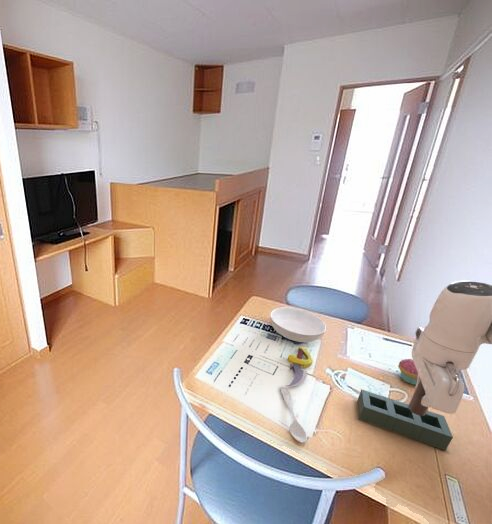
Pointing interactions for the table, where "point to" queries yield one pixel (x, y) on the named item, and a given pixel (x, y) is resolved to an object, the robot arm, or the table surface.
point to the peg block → (403, 420)
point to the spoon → (294, 420)
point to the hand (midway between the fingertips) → (422, 397)
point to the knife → (299, 365)
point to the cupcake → (408, 371)
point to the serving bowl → (297, 324)
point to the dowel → (418, 401)
